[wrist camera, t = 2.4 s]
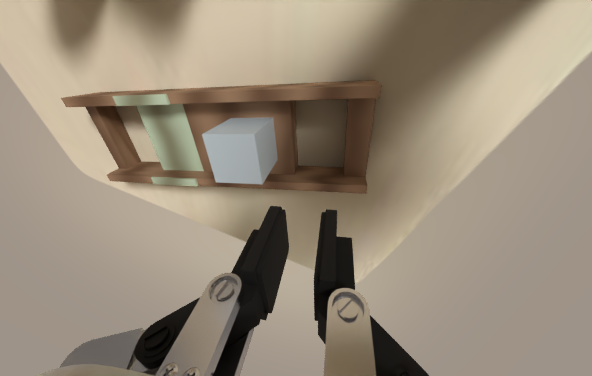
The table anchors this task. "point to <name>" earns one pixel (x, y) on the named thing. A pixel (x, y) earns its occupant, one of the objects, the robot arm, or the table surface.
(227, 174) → the block
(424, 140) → the table surface
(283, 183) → the box
